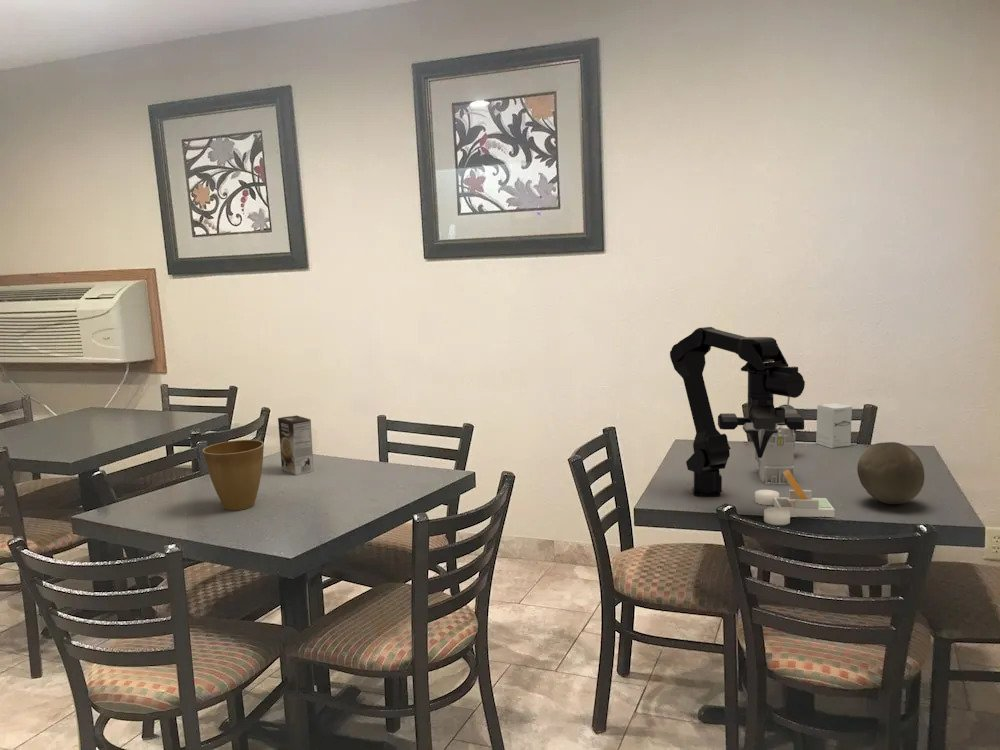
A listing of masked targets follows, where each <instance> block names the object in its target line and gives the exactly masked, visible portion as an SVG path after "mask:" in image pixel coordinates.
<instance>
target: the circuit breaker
mask: <svg viewBox="0 0 1000 750" xmlns="http://www.w3.org/2000/svg"><path fill="white" fill-rule="evenodd" d="M777 430H778V433H773V435H772V436H771V437H770V439H769V441H768V443H767V445H766V448H765V450H764V453H763V456H762V458H758V456H757V453H756V450H755V449H754V459H755V460H756V462H757V463H758V466H757V467H758V468H757V469H758V470H757V471H758V473H757V475H758V476H757V477H758V478H759V477H760V478H759V479H760V480H761V481H762V483H763V482H765V483H764V485H790V483H788V480H787V479H786V477H785V475H784V474H783V472H784V471H786V470H789V471H790V473H791V474H792V475H793V477H794V478H795V472H796V471H795V470H796V469H795V464H794V463H795V447H794V444H795V445H796V438H795V433H794V430H790V429H789V428H788V427H787V425H778V427H777ZM758 431H759V446H760V436H761V430H758ZM768 482H770V483H768Z"/></svg>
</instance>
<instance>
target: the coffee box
mask: <svg viewBox="0 0 1000 750" xmlns="http://www.w3.org/2000/svg"><path fill="white" fill-rule="evenodd" d="M277 420H278V421H277V422H278V435H279V447H280V462H281V470H282V471H284V472H286V473H289V474H291V475H293V476H298V475H303V474H308V473H313V472H314V471H315V470H314V469H315V468H314V456H313V455H314V454H313V437H312V420H311V419H310V418H307V417H303V416H300V415H296V414H295V415H289V416H283V417H282V416H281V417H278V418H277Z"/></svg>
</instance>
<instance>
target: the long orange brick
mask: <svg viewBox="0 0 1000 750" xmlns="http://www.w3.org/2000/svg"><path fill="white" fill-rule="evenodd" d="M783 474H784V475H785V477H786V479H787V480H788V482H789V483H790V484H789V485H790V486H791V487H792V490H794V491H795V492H796V494H797V496H798V497H799V499H807V497H806V496H805V494H804V492H803V491H802V490H803V489H802V488H801V486H800V485H799V483H798V482H797V480H796V478H795V476H794V477H793V475H792V474H791V473H790V471H789V470H786V471H784V472H783Z"/></svg>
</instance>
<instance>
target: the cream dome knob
mask: <svg viewBox="0 0 1000 750" xmlns="http://www.w3.org/2000/svg"><path fill="white" fill-rule="evenodd" d="M773 497H780V493H779V492H778V491H777V490H773V489H772V490H771V489H759V490H755V491H754V502H755V503H756V504H757V503H758V505H760V504H762V505H761V506H766V505H772V506H773Z"/></svg>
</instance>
